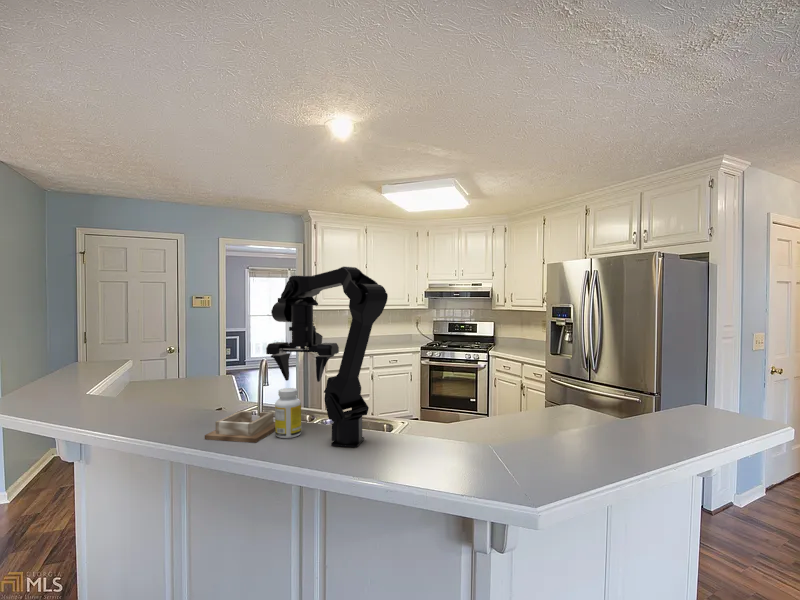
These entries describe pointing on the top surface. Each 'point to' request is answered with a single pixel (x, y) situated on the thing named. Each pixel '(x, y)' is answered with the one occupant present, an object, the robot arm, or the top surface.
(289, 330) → the robot arm
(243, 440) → the pocket tray
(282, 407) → the pill bottle
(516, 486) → the top surface
